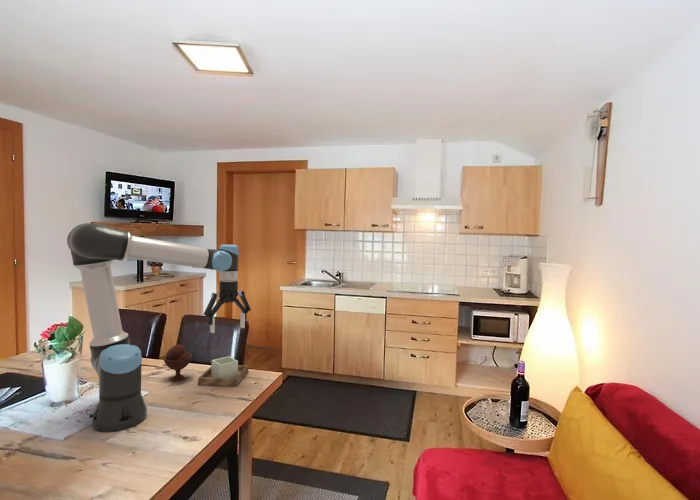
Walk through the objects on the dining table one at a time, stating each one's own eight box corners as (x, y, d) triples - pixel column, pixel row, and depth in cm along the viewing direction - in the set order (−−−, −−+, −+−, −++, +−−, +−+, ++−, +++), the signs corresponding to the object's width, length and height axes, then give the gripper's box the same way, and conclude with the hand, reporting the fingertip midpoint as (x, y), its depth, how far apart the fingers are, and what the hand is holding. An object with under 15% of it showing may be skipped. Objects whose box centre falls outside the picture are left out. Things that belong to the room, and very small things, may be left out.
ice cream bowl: (197, 377, 157) (197, 343, 156) (172, 386, 147) (173, 349, 147) (182, 372, 162) (183, 338, 162) (158, 380, 153) (158, 344, 152)
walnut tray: (197, 385, 149) (197, 378, 149) (212, 371, 165) (213, 364, 165) (236, 386, 149) (237, 379, 148) (248, 372, 164) (248, 365, 164)
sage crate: (219, 381, 151) (219, 365, 151) (211, 376, 157) (211, 360, 156) (237, 377, 156) (237, 360, 156) (229, 371, 162) (229, 356, 162)
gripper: (203, 283, 145) (202, 336, 146) (259, 279, 162) (258, 327, 163) (195, 281, 150) (194, 332, 151) (250, 278, 168) (249, 324, 168)
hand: (227, 330), depth 157 cm, fingers open, 13 cm apart
